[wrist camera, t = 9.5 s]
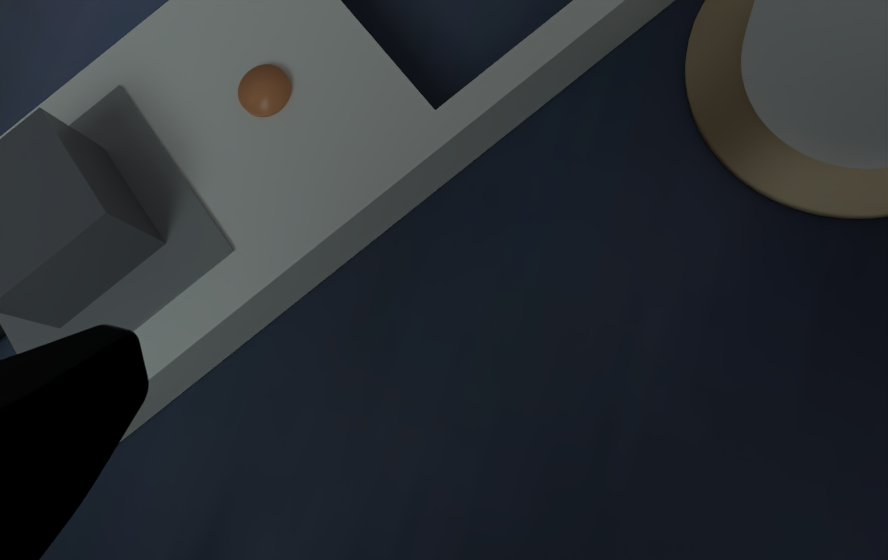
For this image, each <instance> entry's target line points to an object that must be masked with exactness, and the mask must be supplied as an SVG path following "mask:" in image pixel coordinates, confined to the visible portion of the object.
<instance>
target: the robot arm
mask: <svg viewBox="0 0 888 560" xmlns="http://www.w3.org/2000/svg"><path fill="white" fill-rule="evenodd" d="M148 388H149V381H148V375H147V371H146V367H145V362H144V358H143V354H142V349H141V345H140V341H139V338H138V336H137V335H136V334H135V332H133V331H131V330H129V329H125V328H121V327H117V326H113V325H109V324H101V325H97V326H94V327H92V328H89V329H86V330H83V331H80V332H78V333H75V334H72V335H69V336H67V337H64V338H61V339H58V340H55V341H53V342H50V343H47V344H44V345H41V346H39V347H36V348H33V349H30V350H28V351H25V352H22V353H19V354H16V355H14V356H11V357H8V358H5V359H2V360H0V560H39V559H40V558H41V557H42V555H43V554H44V553H45V551H46V550H47V549H48V547H49V546H50V545H51V543H52V542H53V541H54V539H55V538H56V537H57V535H58V534H59V533H60V532H61V530H62V529H63V528H64V526H65V525H66V524H67V522H68V521H69V520H70V518H71V517H72V515H73V514H74V513H75V511H76V510H77V508H78V507H79V506H80V504H81V503H82V501H83V500H84V498H85V497H86V495H87V494H88V492H89V491H90V489H91V488H92V486H93V484H94V483H95V481H96V480H97V478H98V476H99V475H100V473H101V471H102V470H103V468H104V466H105V465H106V463H107V462H108V460H109V458H110V457H111V455H112V453H113V452H114V450H115V449H116V447H117V445H118V444H119V442H120V440H121V439H122V437H123V435H124V434H125V432H126V431H127V429H128V427H129V426H130V424H131V422H132V421H133V419H134V418H135V416H136V414H137V413H138V411H139V409H140V408H141V406H142V405H143V403H144V401H145V399H146V396H147V393H148Z"/></svg>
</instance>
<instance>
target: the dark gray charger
mask: <svg viewBox="0 0 888 560" xmlns="http://www.w3.org/2000/svg"><path fill="white" fill-rule="evenodd" d="M165 244H166V243H165V241H164V240H163V238H162V236H161V235H160V233H159V232H158V230H157V229H156V227H155V226H154V224H153V223H152V221H151V220H150V218H149V217H148V215H147V213H146V212H145V210H144V209H143V207H142V206H141V204H140V203H139V201H138V200H137V198H136V197H135V195H134V194H133V192H132V190H131V189H130V187H129V186H128V184H127V183H126V181H125V180H124V178H123V177H122V175H121V174H120V172H119V171H118V169H117V167H116V166H115V164H114V163H113V161H112V160H111V158H110V157H109V155H108V154H107V152H106V151H105V149H104V148H103V147H101V146H100V145H98V144H97V143H95V142H93V141H92V140H90V139H89V138H87V137H86V136H84V135H82V134H81V133H79V132H78V131H76V130H75V129H73V128H71V127H70V126H68V125H67V124H65V123H64V122H62V121H60V120H59V119H57V118H56V117H54V116H53V115H51V114H50V113H48V112H46V111H45V110H43V109H42V108H40V107H39V108H38V109H37V110H36V111H34V112H33V113H32V114H31V115H29V116H28V117H27V118H26V119H24V120H23V121H22V122H21V123H19V124H18V125H17V126H16V127H15V128H13V129H12V130H11V131H10V132H8V133H7V134H6V135H5V136H3V137H2V138H1V139H0V313H2V314H6V315H9V316H13V317H17V318H21V319H25V320H29V321H33V322H36V323H40V324H44V325H48V326H52V327H56V328H61V327H62V326H64V325H65V324H66V323H67V322H69V321H70V320H71V319H72V318H74V317H75V316H76V315H77V314H79V313H80V312H81V311H82V310H84V309H85V308H86V307H87V306H89V305H90V304H91V303H92V302H94V301H95V300H96V299H97V298H99V297H100V296H101V295H102V294H104V293H105V292H106V291H107V290H109V289H110V288H111V287H112V286H114V285H115V284H116V283H117V282H119V281H120V280H121V279H122V278H124V277H125V276H126V275H127V274H129V273H130V272H131V271H132V270H134V269H135V268H136V267H137V266H139V265H140V264H141V263H142V262H144V261H145V260H146V259H147V258H149V257H150V256H151V255H152V254H154V253H155V252H156V251H157V250H159V249H160V248H161V247H162V246H164V245H165Z"/></svg>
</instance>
